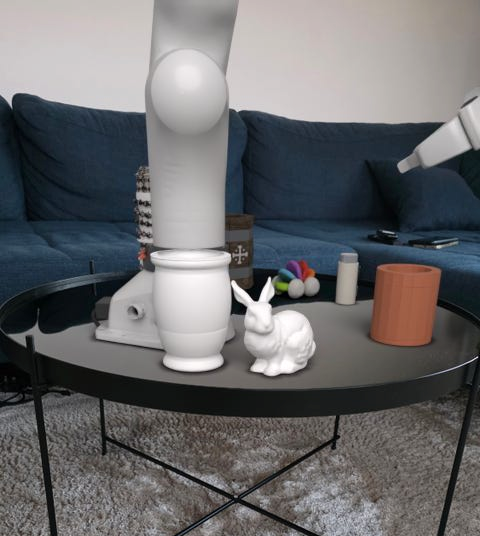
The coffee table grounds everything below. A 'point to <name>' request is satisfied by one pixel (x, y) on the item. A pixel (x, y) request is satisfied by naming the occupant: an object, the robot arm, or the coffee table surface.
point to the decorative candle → (143, 210)
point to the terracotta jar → (404, 304)
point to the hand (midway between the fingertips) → (407, 161)
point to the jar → (191, 306)
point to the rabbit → (275, 334)
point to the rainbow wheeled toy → (296, 280)
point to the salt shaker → (347, 279)
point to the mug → (240, 248)
